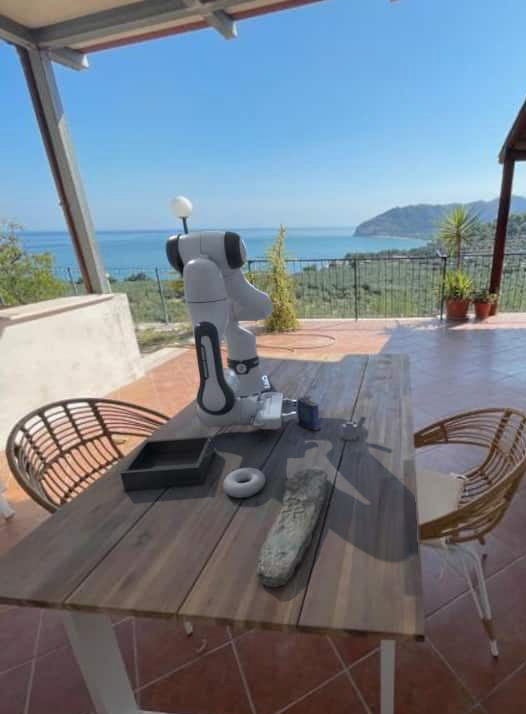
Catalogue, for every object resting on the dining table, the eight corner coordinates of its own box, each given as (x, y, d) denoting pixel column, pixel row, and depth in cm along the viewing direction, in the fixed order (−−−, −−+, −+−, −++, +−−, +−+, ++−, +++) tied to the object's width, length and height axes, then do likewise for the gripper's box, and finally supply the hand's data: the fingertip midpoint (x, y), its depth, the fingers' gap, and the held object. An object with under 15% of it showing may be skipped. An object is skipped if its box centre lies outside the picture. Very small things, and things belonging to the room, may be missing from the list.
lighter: (343, 439, 118) (342, 415, 115) (343, 436, 120) (343, 413, 117) (366, 439, 118) (366, 416, 115) (366, 437, 120) (366, 413, 117)
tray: (148, 456, 109) (144, 440, 108) (214, 451, 112) (212, 436, 110) (124, 490, 95) (120, 473, 93) (201, 484, 97) (198, 467, 95)
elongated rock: (243, 591, 69) (297, 599, 68) (240, 570, 67) (296, 578, 66) (296, 471, 101) (334, 476, 100) (296, 454, 99) (334, 459, 98)
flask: (320, 429, 124) (319, 398, 121) (313, 432, 122) (312, 401, 119) (302, 420, 130) (300, 390, 126) (295, 423, 128) (293, 393, 124)
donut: (216, 498, 92) (255, 503, 90) (213, 486, 91) (253, 490, 89) (236, 474, 101) (272, 478, 99) (234, 463, 100) (271, 466, 98)
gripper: (247, 416, 111) (296, 413, 113) (255, 390, 130) (297, 387, 132) (249, 436, 113) (297, 432, 115) (257, 407, 132) (298, 404, 134)
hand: (297, 408), depth 124 cm, fingers open, 8 cm apart
